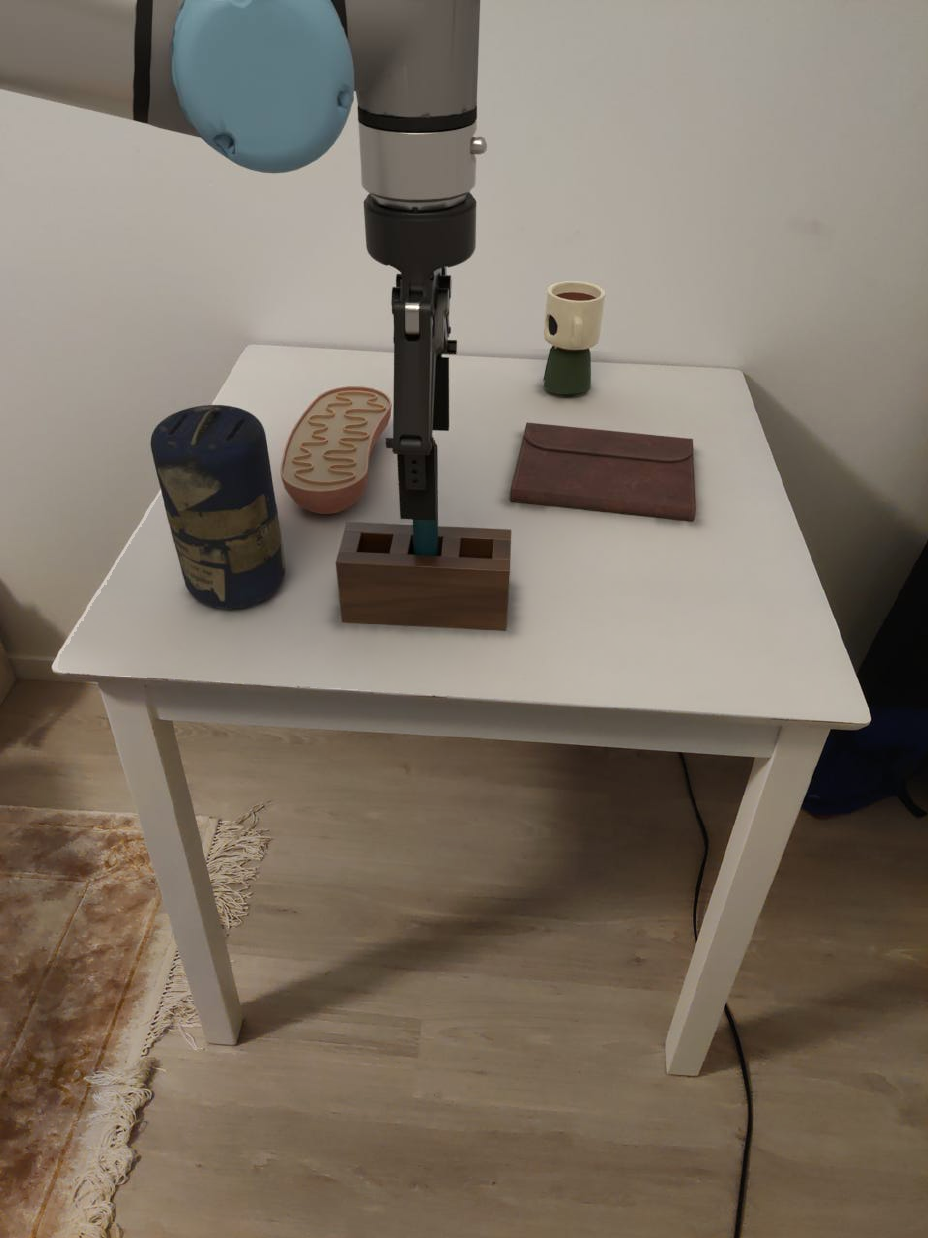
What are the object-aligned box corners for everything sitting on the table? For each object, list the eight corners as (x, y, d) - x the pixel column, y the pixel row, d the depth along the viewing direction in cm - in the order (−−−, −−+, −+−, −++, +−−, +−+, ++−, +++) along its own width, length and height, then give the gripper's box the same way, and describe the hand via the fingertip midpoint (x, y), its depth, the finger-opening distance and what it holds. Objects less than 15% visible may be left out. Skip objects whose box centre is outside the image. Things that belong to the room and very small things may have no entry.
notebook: (693, 523, 91) (696, 507, 90) (509, 502, 93) (510, 487, 92) (689, 451, 102) (693, 436, 101) (525, 434, 104) (526, 419, 103)
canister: (166, 600, 80) (117, 429, 68) (223, 545, 87) (188, 379, 75) (253, 627, 78) (218, 454, 66) (306, 568, 84) (283, 400, 72)
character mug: (537, 369, 118) (544, 274, 109) (588, 370, 118) (600, 275, 109) (542, 408, 109) (550, 307, 101) (597, 408, 109) (610, 308, 101)
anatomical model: (362, 534, 88) (358, 493, 85) (268, 527, 89) (261, 486, 86) (399, 425, 105) (397, 388, 102) (320, 420, 106) (316, 382, 103)
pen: (423, 615, 79) (419, 455, 68) (410, 602, 81) (405, 443, 69) (442, 607, 80) (442, 448, 69) (430, 594, 81) (428, 436, 70)
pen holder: (506, 630, 78) (510, 570, 73) (341, 622, 78) (335, 562, 74) (507, 588, 82) (511, 529, 78) (352, 580, 83) (346, 521, 78)
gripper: (465, 261, 47) (462, 564, 61) (484, 145, 65) (479, 399, 80) (330, 257, 47) (358, 560, 61) (387, 143, 66) (399, 396, 80)
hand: (426, 469), depth 71 cm, fingers open, 13 cm apart
